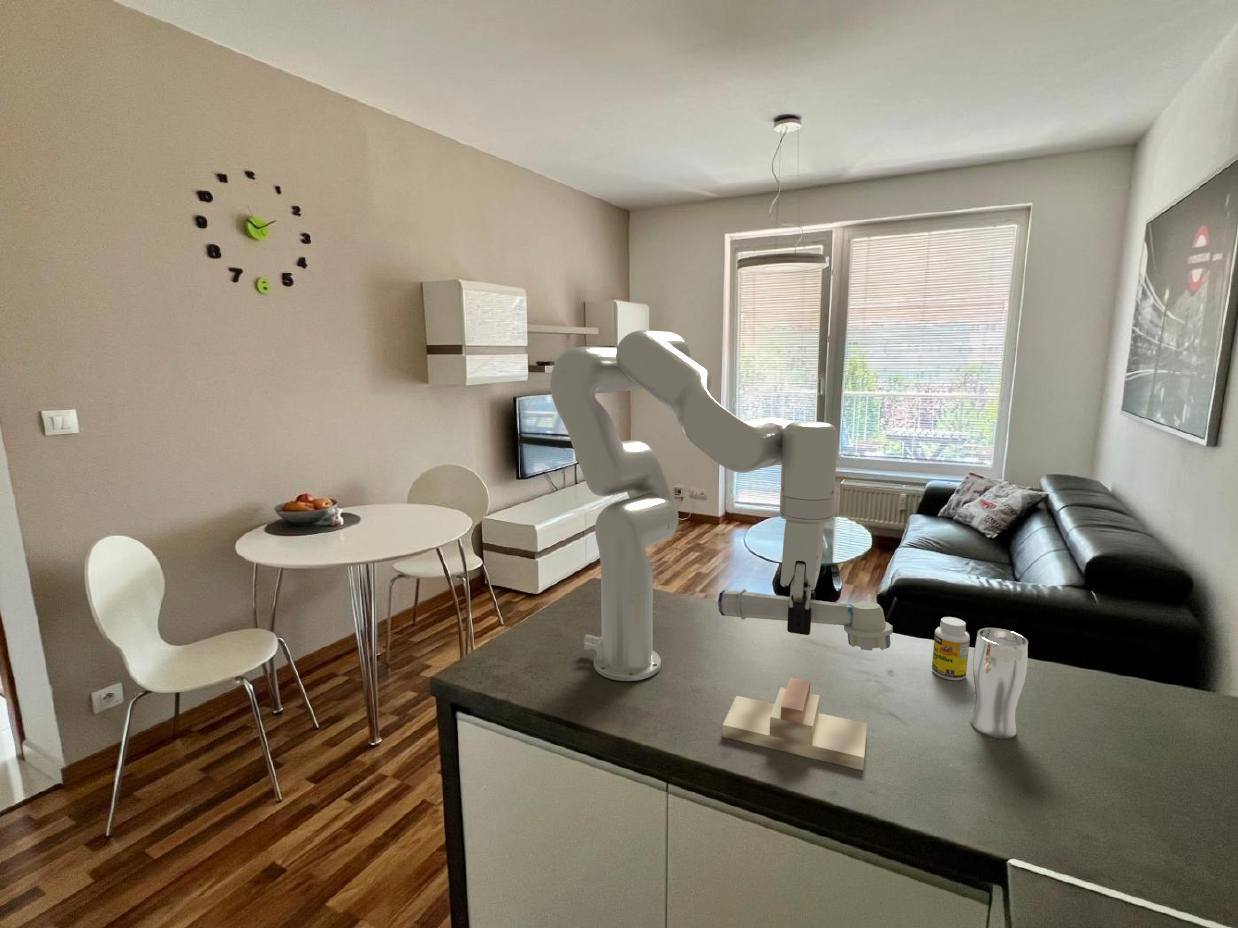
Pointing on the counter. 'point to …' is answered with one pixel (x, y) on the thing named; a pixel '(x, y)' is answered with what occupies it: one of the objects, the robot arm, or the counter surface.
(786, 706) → the stepped podium stack
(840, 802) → the counter surface
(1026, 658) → the beer glass
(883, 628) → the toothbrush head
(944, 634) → the supplement bottle
